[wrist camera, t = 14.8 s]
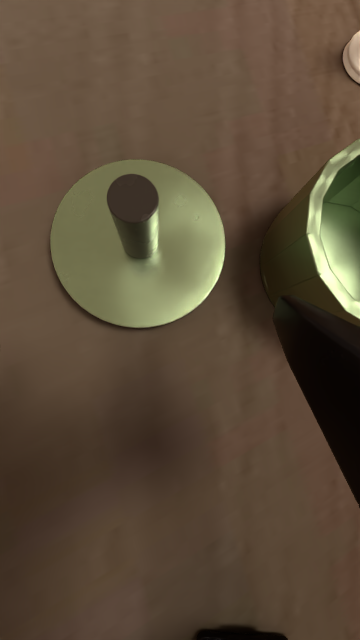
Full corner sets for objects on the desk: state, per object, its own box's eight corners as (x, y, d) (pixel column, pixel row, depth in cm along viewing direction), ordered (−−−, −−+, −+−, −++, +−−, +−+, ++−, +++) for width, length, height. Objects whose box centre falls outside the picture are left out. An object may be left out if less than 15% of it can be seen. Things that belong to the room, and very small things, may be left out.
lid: (239, 307, 20) (280, 290, 13) (76, 346, 18) (29, 349, 12) (200, 157, 20) (220, 68, 14) (41, 184, 19) (-21, 101, 12)
